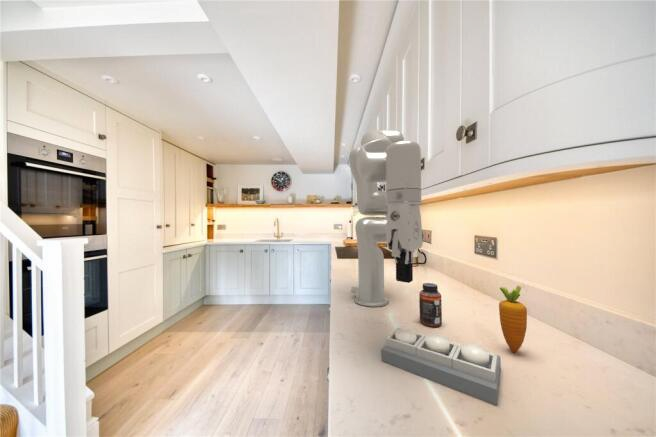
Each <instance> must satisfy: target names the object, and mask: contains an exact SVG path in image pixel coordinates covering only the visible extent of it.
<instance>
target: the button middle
mask: <svg viewBox="0 0 656 437" xmlns="http://www.w3.org/2000/svg"><path fill="white" fill-rule="evenodd" d="M425 335H426V349H427V350H430V351H433V352H437V353H440V354H443V355H445V354H448V353H449V352H450V345H449V342H450V339H449V338H448V337H447V336H446V335H442V334H439V333H428V334H425Z"/></svg>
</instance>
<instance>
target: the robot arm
mask: <svg viewBox="0 0 656 437" xmlns="http://www.w3.org/2000/svg"><path fill="white" fill-rule="evenodd" d="M360 145H361V146H359V147H354V148H353V149H351V151H350V153H349V167H350V172H351V174H352V177H353V179H354V182H355V185H356V186H355V187H356V188H355V189H356V199H357V200H356V201H357V209H358V212H359V213H360V215H362V216H366V217H361V218H359V219H358V220H357V221H356V223H355V227H354V229H355V230H354V231H355V237H356V242H357V244H356V245H357V259H358V264H357V265H358V266H357V268H358V269H357V270H358V271H357V272H358V273H357V274H358V287H357V286H351V287H350V293H351V294H355V295H356V296H355V297H354V302H355V303H357V305H360V306H364V307H374V308H375V307H376V308H377V307H383V306H387V305H388V304H389V303H390V302H389V300H390V299H389V297H387V296H386V295H385V261H384V260H385V258H384V257H385V256H384V253H383V250H382V249H381V248H380V247H379V246H378V244H379V243H386V246H387V248H388V250H390V251H391V257H393V258H394V262H395V280H396V281H397V282H402V283H407V284H409V283H411V282H413V279H414V276H413V275H414V274H413V273H414V272H413V269H414V268H413V267H414V266H413V261H414V253H415V250H419V249H421V248H422V247H423V229H422V228H423V227H422V226H423V225H422V215H421V208H420V206H421V205H422V159H421V158H422V157H421V156H422V155H421V154H422V153H421V147H420V144H419V143H418V142H416V141H412V140H405V137H404V135H403V133H402V132H401V131H399V130H397V129H372V130H368V131H367V132H365V133H364V134H363V135H362V137H361V141H360ZM378 183H385V191H383V190H381V191H380V190H379V186H378ZM368 216H369V217H368ZM372 216H373V217H372ZM375 216H376V217H375Z"/></svg>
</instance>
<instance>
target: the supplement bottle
mask: <svg viewBox="0 0 656 437" xmlns="http://www.w3.org/2000/svg"><path fill="white" fill-rule="evenodd" d="M421 288H422V290H420V291H419V292H418V293H419V294H418V295H419V298H418V301H419V302H418V303H419V304H418V305H419V307H418V308H419V322H420V323H421V324H422V325H424V326H426V327H432V328H437V327H438V328H439V327H441V325H442V324H443V320H442V319H443V314H442V312H443V311H442V308H443V306H442V293H441V292H439V288H438V285H437V284H436V283H433V282H431V283H430V282H423V283H422V287H421Z"/></svg>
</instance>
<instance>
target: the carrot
mask: <svg viewBox="0 0 656 437" xmlns="http://www.w3.org/2000/svg"><path fill="white" fill-rule="evenodd" d="M521 289H522V287H521V286H520V285H516V287H515V288H513V289H512V291H510V292H509V290H508V288H507V287H503V286H500V287H499V290H500V291H501V293H502V294H503V296H504V297H505V300H501V301H499V303H498V309H499V310H498V311H499V313H498V314H499V323H500V326H501V331H502V334H503V339H504V340H505V342H506V344H507V347H508V348H509V350H510V351H511V353H513V354H515V353H517V352H518V351H519V350H520V348H521V347H522V345H523V343H524V341H525V337H526V334H527V332H526V331H527V327H528V326H527V324H528V310H527V309H528V308H527V307H526V305H524V303H522V302H521V301H518V299H519V297H520V296H521V294H520V292H521Z"/></svg>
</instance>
